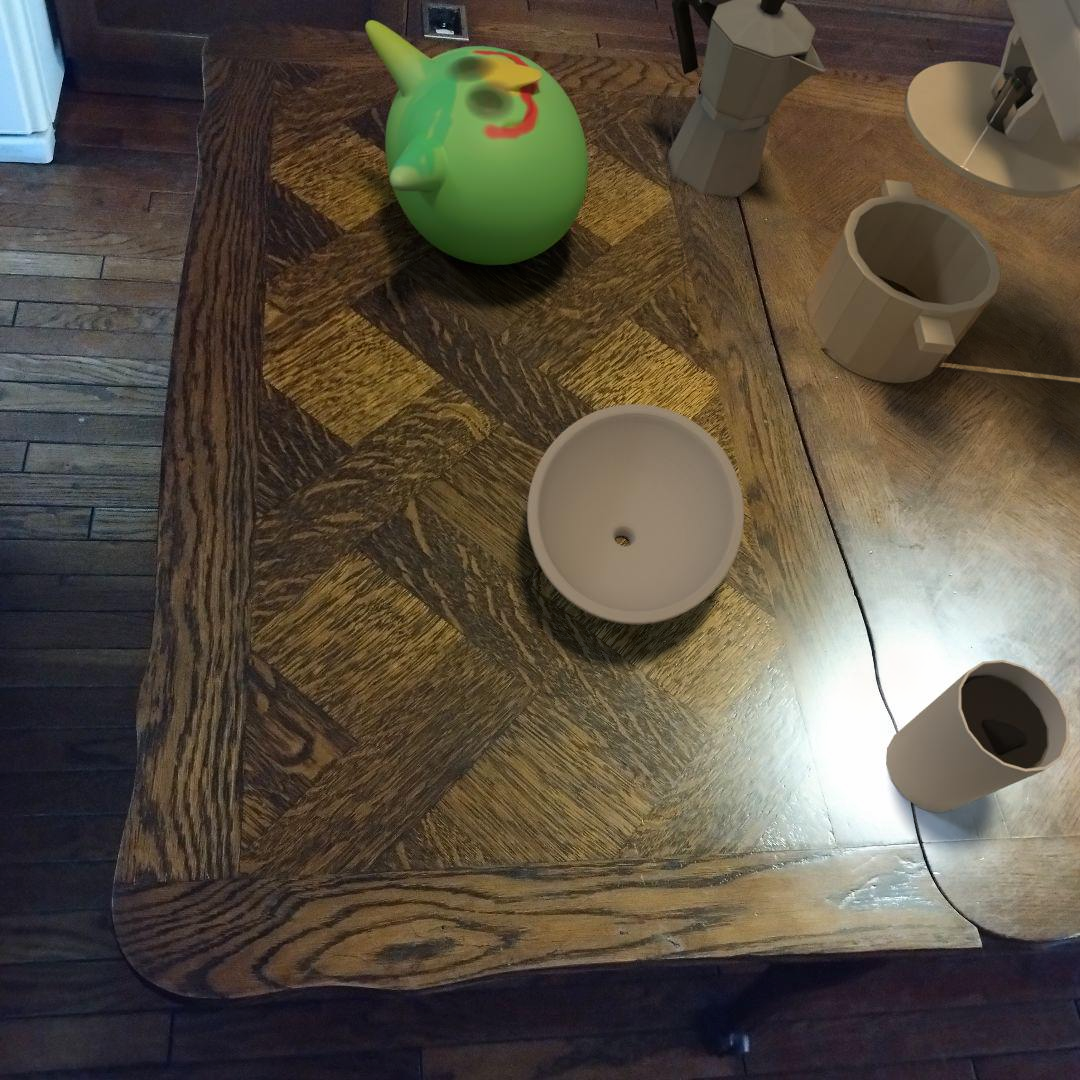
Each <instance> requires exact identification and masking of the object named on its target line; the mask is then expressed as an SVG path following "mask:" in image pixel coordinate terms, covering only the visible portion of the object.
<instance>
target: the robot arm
mask: <svg viewBox="0 0 1080 1080" xmlns="http://www.w3.org/2000/svg"><path fill="white" fill-rule="evenodd" d="M1005 2H1006V3H1007V6H1008V9H1009V11H1010V13H1011V16H1012V19H1013V21H1014V25H1013V27H1012V29H1011V30H1010V32H1009V34H1008V36H1007V41H1006V44H1005V48H1004V52H1003V56H1002V59H1001V64H1000V67H1001V68H1000V70H999V72H998V73H997V75H996V77H995V78H994V80H993V82H992V83H991V85H990V91H991V94H992V97H993V99H994V102H995V101H996V99H997V97H998V96H999V94H1000V92H1001V91H1002V89H1003V88H1004V86H1005V84H1006V83H1007V81H1008V79H1009V78H1010V76H1011V75H1012V73H1013V71H1014V70H1015V69H1016V68H1017V67H1020V66H1028V67H1032V68H1033V70H1034V72H1035V75H1036V77H1037V82H1036V83H1035V85H1034V86H1033V88H1032V94H1033V95H1034V96H1033V97H1032V98H1031V99H1030V100H1028V101H1027V102H1026V103H1025V104H1024V105H1023V104H1017V103H1014V104H1013V105H1012V107H1011V108H1010V110H1009V112H1008V115H1007V116H1006V117H1005V118H1004V120H1003V122H1002V125H1003V128H1004V131H1005V134H1006V137H1007V139H1008V140H1009V141H1016V142H1022V143H1024V142H1028V141H1030V140H1031V139H1032V138H1033V136H1034V135H1035V133H1036V132H1037V130H1038V129H1039V128H1040V126H1041V125H1042V123H1043V122H1045V121H1047V120H1048V119H1050V118H1053V120H1054V123H1055V126H1056V128H1057V131H1058V133H1059V136H1060V138H1061V140H1062V142H1063V143H1064V144H1066V145H1069V146H1073V147H1079V148H1080V0H1005Z"/></svg>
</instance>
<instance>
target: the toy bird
mask: <svg viewBox="0 0 1080 1080" xmlns="http://www.w3.org/2000/svg"><path fill="white" fill-rule="evenodd" d="M364 28H365V32H366V35H367V38H368V39H369V41H370V43H371V45H372V46H373V48H374V50H375V51H376V53H377V55H378V57H379V58H380V60H381V61H382V64H384V67H385V68H386V69H387V71H388V72H389V74H390V76H391V78H392V79H393V81H394V83H395V84H396V86H397V87H398V90H397V92H396V94H395V96H394V98H393V101H392V103H391V106H390V109H389V112H388V116H387V121H386V126H385V138H384V139H385V141H384V145H385V146H384V148H385V160H386V166H387V171H388V177H389V184H390V185H391V187H392V189H393V192H394V195H395V197H396V199H397V202H398V204H399V205H400V207H401V209H402V211H403V213H404V214H405V216H406V217H407V219H408V221H409V222H410V223H411V225H412V226H413V227H414V229H416V230H417V232H418V233H419V234H420V235H421V236H422V237H423V238H424V239H425V240H427V242H428V243H430V244H431V245H432V246H434V247H435V248H436V249H438V250H439V251H441V252H443V253H444V254H446V255H448V256H451V257H453V258H455V259H458V260H460V261H464V262H466V263H471V264H476V265H482V266H506V265H511V264H516V263H520V262H524V261H526V260H530V259H532V258H534V257H536V256H538V255H541V254H543V252H546V251H547V250H549V249H550V248H552V246H554V245H555V244H557V243H558V242H559V241H560V240H561V239H562V238H563V237H564V236H565V235H566V233H567V232H568V231H569V230H570V228H572V226H573V225H574V223H575V221H576V219H577V218H578V216H579V213H580V211H581V209H582V207H583V203H584V201H585V198H586V192H587V189H588V188H587V187H588V181H589V156H588V155H589V154H588V148H587V147H588V146H587V143H586V137H585V133H584V130H583V129H584V128H583V126H582V124H581V121H580V118H579V115H578V113H577V111H576V108H575V106H574V105H573V103H572V101H571V99H570V98H569V96H568V94H567V93H566V92H565V90H564V88H563V87H562V86H561V85H560V83H558V81H557V80H556V79H555V78H554V77H553V76H552V75H551V74H550V73H549V72H548V71H546V70H545V69H544V68H542V67H541V66H540V65H539V64H537V63H536V62H534V61H533V60H532V59H530V58H528V57H526V56H523V55H521V54H519V53H516V52H513V51H510V50H509V49H505V48H500V47H494V46H483V45H470V46H462V47H458V48H453V49H450V50H447V51H444V52H442V53H439V54H437V55H435V56H433V57H431V58H430V57H429V56H427V55H426V54H425V53H423V52H422V51H421V50H419V49H418V48H417V47H415V46H414V45H412V44H411V43H410V42H409V41H407V40H406V39H405V38H403V37H402V36H400V35H399V34H398V33H397V32H395V31H393V30H392V29H391V28H389V27H388V26H387V25H385V24H382V23H381V22H379V21H376V20H373V19H370V20H368V21H367V22H366V23H365V25H364Z"/></svg>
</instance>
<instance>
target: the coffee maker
mask: <svg viewBox="0 0 1080 1080" xmlns="http://www.w3.org/2000/svg"><path fill="white" fill-rule="evenodd" d="M690 6H691V7H692V8H693V10H694V11H695V13H697V15H698V17H699V18H700V19H701V20H702V22H703V23H704V24H705V25H706V27H707V28H708V30H709V33H708V38H707V44H706V49H705V55H704V61H703V67H702V72H701V78H700V83H699V91H700V94H698V95H697V96H696V98H695V101H694V102H693V104H692V106H691V108H690V110H689V112H688V114H687V116H686V118H685V120H684V122H683V124H682V126H681V127H680V129H679V131H678V133H677V135H676V138H675V140H674V141H673V143H672V145H671V147H670V149H669V151H668V153H667V155H666V156H667V160H668V161H667V162H668V167H669V172H670V176H671V180H672V181H673V182H675V183H676V184H678V179H680V180H681V181H683V183H685V184H687V185H688V186H690V187H691V188H693V189H694V190H696V192H697V191H698V193H700V194H701V195H708V196H720V197H732V198H738V197H739V196H741V195H742V194H743V193H744V192H746V191H747V190H748V189H749V188H751V187H752V186H753V185H755V184H756V183H757V182H758V179H759V174H760V171H761V166H762V165H761V164H762V160H763V156H764V153H765V152H764V151H765V148H766V141H767V139H768V133H769V129H770V124H771V119H770V116H773V115H774V113H775V112H776V110H777V109H778V108H779V106H780V104H781V102H782V101H783V100H784V98H785V97H786V95H789V93H791V92H792V91H793V90H794V89H796V88H797V87H798V86H800V85H801V84H802V83H804V82H805V81H806V80H808V79H809V78H810V77H811V76H812V75H814V74H815V73H825V72H827V70H826V68H825V66H824V65H823V63H822V61H821V59H820V58H819V57H820V56H819V55H818V53H817V52H816V50H815V48H814V46H813V44H812V42H813V38H814V36H815V33H816V28H815V26H813V25H812V23H811V22H810V21H809V20H808V19H807V18H806V17H805V16H804V15H803V13H801V11H800V10H799V9H798V8H797V7H796V6H795V4H792V3H789V2H786V0H671V8H672V13H673V19H674V25H675V26H674V27H675V30H676V37H677V43H678V49H679V54H680V60H681V67H682V72H683V73H682V74H683V75H688V74H690V73H692V72H694V71H696V70H697V69H699V61H698V55H697V48H696V42H695V35H694V29H693V23H692V17H691V15H692V14H691V10H690Z"/></svg>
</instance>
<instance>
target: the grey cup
mask: <svg viewBox="0 0 1080 1080" xmlns="http://www.w3.org/2000/svg"><path fill="white" fill-rule="evenodd" d="M1070 732H1071V731H1070V719H1069V717H1068V713H1067V712H1066V710H1065V707H1064V705H1063V703H1062V700H1061V698H1060V697H1059V695H1058V694H1057V693H1056V692H1055V690H1053V688H1052V687H1051V686H1050V685H1049V684H1048V683H1047V681H1046V680H1045V679H1043V678H1042V677H1041V676H1039V675H1038V674H1037V673H1035V672H1033V671H1032V670H1031V669H1029V668H1028V667H1026V666H1025V665H1021V664H1017V663H1014V662H1011V661H1007V660H1004V659H999V660H987V661H981V662H980V663H978V664H977V665H975V666H973V667H972V668H970V669H968V670H967V671H966V672H965V673H964V674H963V675H961V676H960V677H959V678H958V679H957V680H956V681H954V682H953V683H952V684H951V685H950V686H949V687H948V688H946V689H945V690H944V691H943V692H942V693H941V694H940V695H939V696H938V697H936V698H935V699H934V700H933V701H932V702H931V703H929V704H928V705H927V706H926V707H925V708H924V709H923V710H921V711H920V712H919V713H918V714H917V715H915V716H914V717H913V718H912V719H911V720H909V722H907V724H905V725H904V726H903V727H902V728H901V729H899V731H897V732H896V733H895V734H894V735H893V737H892V739H891V740H890V742H889V744H888V746H887V748H886V761H885V762H886V763H885V765H886V767H887V771H888V774H889V776H890V780H891V783H893V785H894V787H895V788H896V789H897V790H898V792H899V793H900V795H901V796H902V797H903V798H905V799H906V800H907V801H908V802H910V803H912V804H913V805H914V806H916V807H917V808H918V809H923V810H926V811H929V812H932V813H943V812H950V811H951V812H952V811H953V810H956V809H959V808H960V807H962V806H965V805H967V804H969V803H972V802H975V801H976V800H979V799H981V798H984V797H986V796H989V795H991V794H993V793H996V792H998V791H1000V790H1002V789H1005V788H1007V787H1009V786H1012V785H1014V784H1016V783H1019V782H1021V781H1023V780H1026V779H1028V778H1030V777H1033V776H1035V775H1037V774H1040V773H1042V772H1044V771H1047V770H1048V769H1050V768H1051V767H1053V766H1054V765H1055V764H1057V763H1058V762H1059V761H1061V760H1063V758H1064V755H1065V754H1066V751H1067V749H1068V746H1069V744H1070V742H1071V736H1070V735H1071V734H1070Z"/></svg>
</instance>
